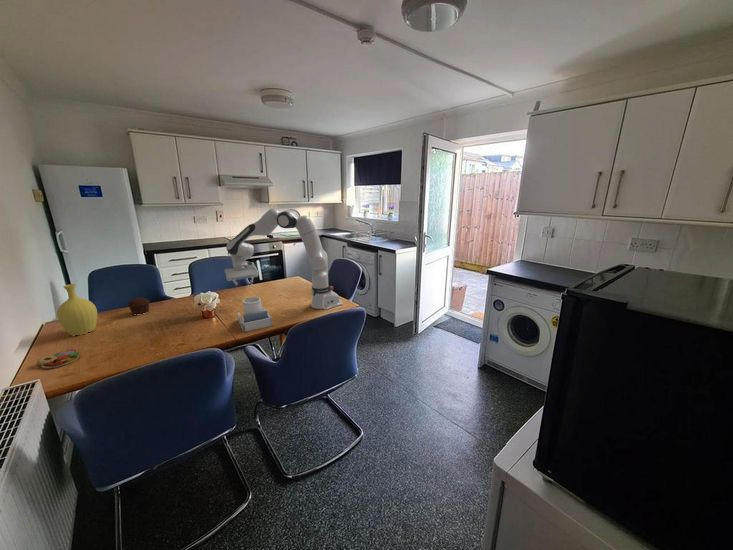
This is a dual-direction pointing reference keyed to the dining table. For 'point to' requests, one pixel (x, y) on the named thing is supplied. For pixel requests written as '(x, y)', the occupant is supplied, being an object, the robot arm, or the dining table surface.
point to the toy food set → (58, 359)
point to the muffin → (139, 306)
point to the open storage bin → (255, 323)
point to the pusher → (255, 316)
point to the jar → (252, 305)
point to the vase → (77, 313)
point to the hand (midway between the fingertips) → (244, 283)
